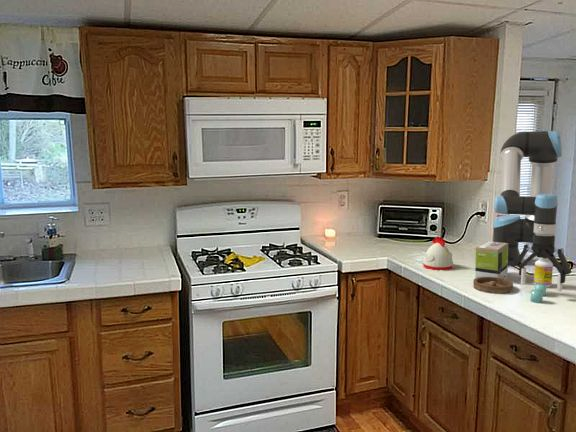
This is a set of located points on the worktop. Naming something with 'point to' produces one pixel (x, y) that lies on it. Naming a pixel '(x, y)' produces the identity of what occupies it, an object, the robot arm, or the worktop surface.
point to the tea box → (491, 260)
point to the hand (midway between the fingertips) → (540, 287)
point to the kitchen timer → (438, 256)
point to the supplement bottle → (543, 272)
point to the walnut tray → (493, 285)
